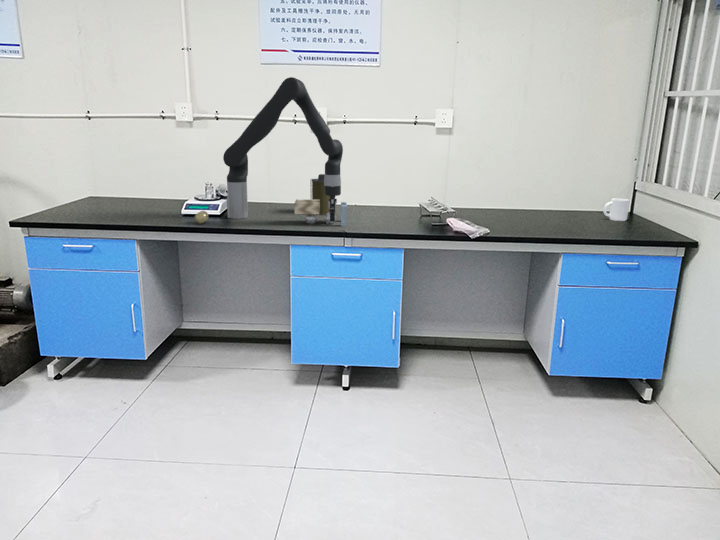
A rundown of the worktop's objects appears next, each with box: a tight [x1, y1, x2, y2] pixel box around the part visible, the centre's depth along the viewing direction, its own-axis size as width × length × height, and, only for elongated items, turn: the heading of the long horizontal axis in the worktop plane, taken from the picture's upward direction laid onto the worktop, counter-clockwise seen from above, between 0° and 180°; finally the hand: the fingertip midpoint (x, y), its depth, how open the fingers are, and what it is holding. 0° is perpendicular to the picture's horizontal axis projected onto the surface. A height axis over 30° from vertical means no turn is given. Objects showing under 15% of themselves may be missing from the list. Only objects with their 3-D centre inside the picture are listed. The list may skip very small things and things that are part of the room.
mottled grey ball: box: [323, 212, 337, 225], centre depth 258 cm, size 5×6×5 cm
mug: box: [602, 197, 630, 222], centre depth 279 cm, size 12×8×10 cm
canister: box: [311, 173, 330, 216], centre depth 280 cm, size 11×10×20 cm
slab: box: [293, 199, 320, 215], centre depth 256 cm, size 11×12×5 cm
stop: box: [340, 201, 348, 227], centre depth 257 cm, size 2×14×9 cm, turn 3°
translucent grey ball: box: [304, 214, 318, 225], centre depth 257 cm, size 5×6×5 cm
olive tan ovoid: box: [194, 210, 209, 224], centre depth 255 cm, size 5×6×5 cm
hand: (332, 219), depth 258 cm, fingers open, 8 cm apart
